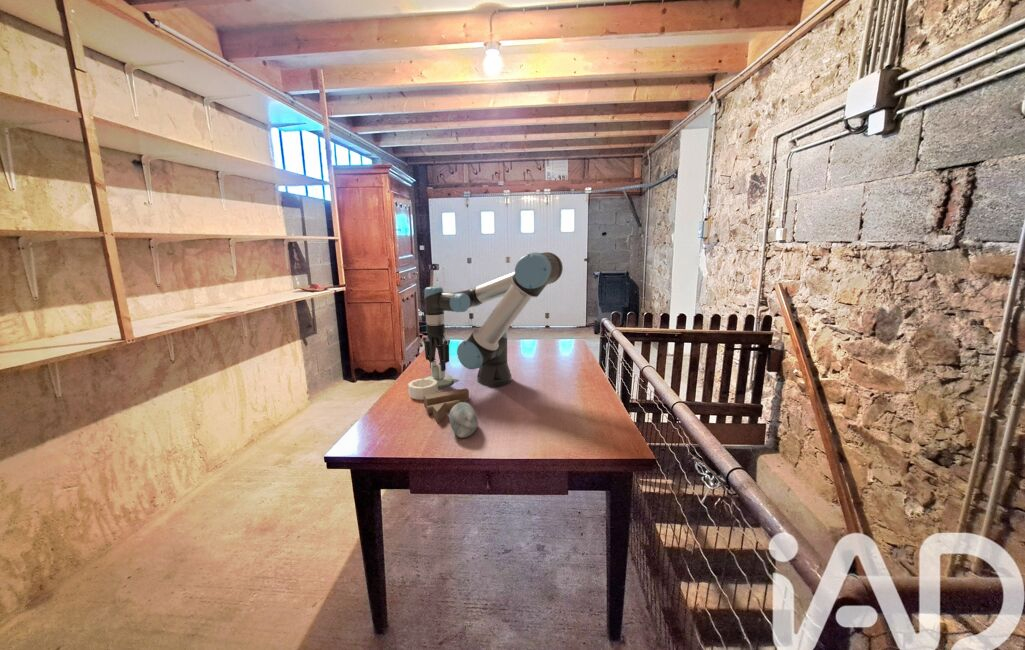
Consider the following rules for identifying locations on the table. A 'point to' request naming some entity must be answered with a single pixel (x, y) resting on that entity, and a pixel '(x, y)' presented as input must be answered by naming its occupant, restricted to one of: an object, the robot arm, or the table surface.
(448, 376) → the lid
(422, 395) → the bowl
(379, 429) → the table surface
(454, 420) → the grey rock
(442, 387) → the trivet
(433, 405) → the brown jagged block
